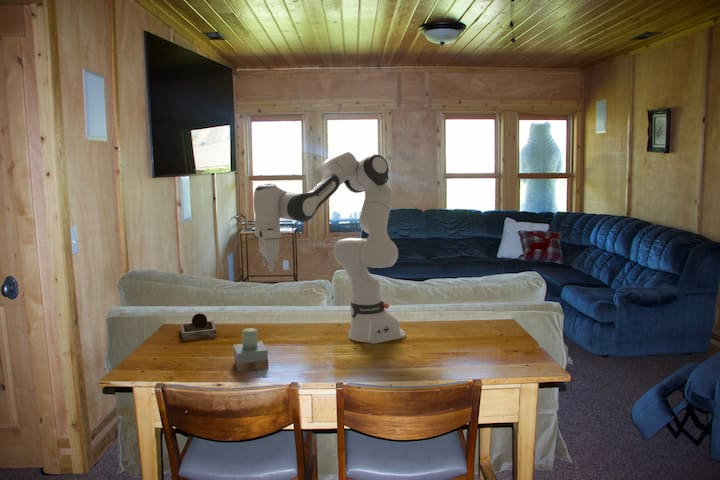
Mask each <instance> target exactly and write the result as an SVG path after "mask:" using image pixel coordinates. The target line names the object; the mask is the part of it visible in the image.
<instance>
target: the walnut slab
mask: <svg viewBox="0 0 720 480" xmlns="http://www.w3.org/2000/svg"><path fill="white" fill-rule="evenodd" d="M234 364H235V366H236V369H237V371H238V372H237V373H247V372H254V371H262V370H268V369H269V368H270V367H269V359H268V360H265V361H258V362H251V363H244V364H238V363H237V361H236V359H235V358H234Z"/></svg>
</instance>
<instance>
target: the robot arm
mask: <svg viewBox="0 0 720 480" xmlns="http://www.w3.org/2000/svg"><path fill="white" fill-rule="evenodd" d="M389 170H390V169H389V164H388V162H387V160H386V158H385V157H383V156H382V155H381V154H371V155H369V156H367V157H365V158H364V159H362V160H360V161H359V160H357V158H356V157H355V155H354V154H353V153H351V152H349V151H345V150H344V151H341V152H338V153H336V154H333V155H332V156H330V157H328V158H327V159H325V160H323V161H322V162H320V164H319V165H317V167H316V168H315V169H314V174H313V178H314V181H315V183H316V186H314V187H313V188H312V189H311V190H310V191H307V192H290V191H289V192H288V191H286V190H283V189H282V188H280V187H278V186H277V185H276V183H265V184H261V185H258V186H257V187H256V188H255V189H254V192H253V212H254V215H255V216H254V236H255V237H258V251H259V253H260V254H261V255H262V260H263V266H264V267H265V268H268V271H269V272H271V273H272V272H275V264H276V263H275V262H276V261H279V257H280V239H281V238H282V233H281V224H280V219H285V220H290V221H291V220H292V221H296V222H300V223H306V222H308V221H309V222H310V221H311V219H312V218H313V217H314V216H315V214H316V213H317V211H318V209H320V207H321V206H322V205H323V204H324V203H325V202H326V201H328V199H330V197H332V195H333V194H335V193H336V192H337V190H338V189H339V187H340V186H341V185H342V184H344V185H345V187H346V188H347V189H348V190H349V191H350V192H352V193H354V194H359V193H362V192H364V201H363V204H362V208H361V211H360V216H359V219H358V224H359V227H360V228H361V230H362V231H363V232H365V233H366V234H368V236H367V237H366V238H361V237H346V238H341V239H338V240H337V241H336V243H335V244H334V246H333V257H334V259H335V261H336V262H337V263H338V264H339V265H341V266H342V268H343V269H344V271H345V272H346V274H347V276H348V279H349V281H350V288H351V301H350V316H351V317H350V318H351V321H350V326H349V327H350V328H349V332H348V338H349V339H350V340H352V341H354V342H358V343H359V342H360V343H367V344H372V345H376V344H380V343H384V342H390V341H394V340H399V339H404V338H406V331H404V330H403V328H401V327H400V323H399V321H398V318H397V317H395V316H394V315H393V314H391V313H390V312H389V311H387V310H388V309H389V308H390V305H389V303H387V302H385V301H382V300H381V283H380V281H379V279H378V278H377V277H375V276H374V275H372V274H371V272H370V271H369V270H368V268H375V269H383V268H389V267H393V266H394V265H395V264H396V263H397V260H398V257H399V249H398V246H397V245H396V243H395V242H394V241H393V240H391V238H390V236H389V234H388V222H389V217H390V212H391V209H392V208H391V207H392V201H393V200H392V199H393V197H392V195H393V194H392V192H393V191H392V190H391V188H390V187H389V186H388V185H387V182H388V181H389V178H390V177H389ZM386 309H387V310H386Z"/></svg>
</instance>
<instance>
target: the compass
mask: <svg viewBox="0 0 720 480" xmlns="http://www.w3.org/2000/svg"><path fill="white" fill-rule="evenodd" d="M207 321H208V318H207V316H206V315H205V314H204V313H200V312H199V313H196V314H194V315H193V316H192V319H191V323H192V324H193V326H194V327H196V328H197V329H194V330H193V331H201V330H207V329H205V328H203V327H204V326H206V324H207Z"/></svg>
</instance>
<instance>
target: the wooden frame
mask: <svg viewBox="0 0 720 480" xmlns="http://www.w3.org/2000/svg"><path fill="white" fill-rule="evenodd" d="M203 328H205V329H206V330H201V331H193V330H194V329H197V328H196V327H194V326H193V324H192V322H186V323H181V324H180V332H181V333H180V334H181V340H182V341H193V340H202V339H209V338H216V337H217V328H216V325H215V321H214V320H207V324H206V326H204V327H203ZM210 328H211V329H210Z"/></svg>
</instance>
